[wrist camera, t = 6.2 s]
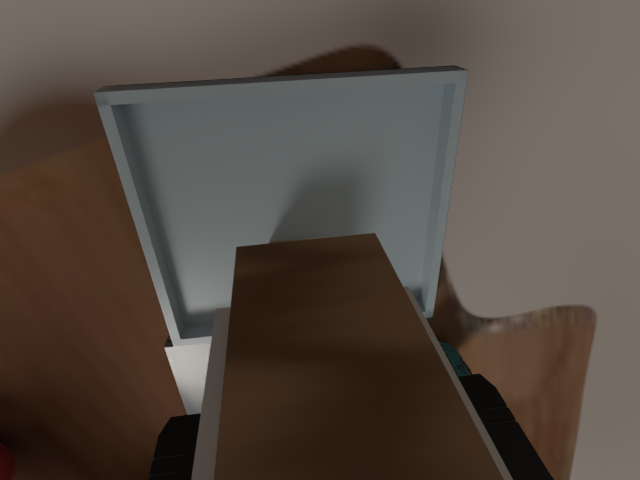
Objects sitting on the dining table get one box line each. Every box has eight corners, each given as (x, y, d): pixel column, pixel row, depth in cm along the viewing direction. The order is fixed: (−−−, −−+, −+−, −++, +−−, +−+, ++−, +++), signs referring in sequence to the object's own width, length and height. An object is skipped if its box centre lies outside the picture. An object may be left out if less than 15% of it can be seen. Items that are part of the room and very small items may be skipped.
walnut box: (253, 349, 16) (244, 925, 6) (236, 246, 14) (170, 927, 4) (371, 334, 17) (548, 846, 7) (375, 232, 14) (671, 800, 4)
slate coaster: (190, 415, 39) (189, 421, 39) (166, 342, 34) (164, 347, 33) (291, 402, 40) (291, 407, 39) (282, 329, 35) (283, 334, 34)
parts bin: (178, 329, 33) (173, 347, 32) (105, 86, 23) (93, 92, 22) (424, 302, 35) (432, 317, 34) (454, 65, 25) (468, 69, 24)
